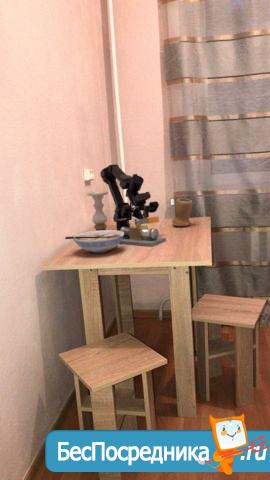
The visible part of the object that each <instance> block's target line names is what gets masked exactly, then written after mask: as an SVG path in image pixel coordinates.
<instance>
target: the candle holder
mask: <svg viewBox="0 0 270 480" xmlns="http://www.w3.org/2000/svg"><path fill="white" fill-rule="evenodd" d="M86 194H87V196H88V197H92V199H93V200H94V203H93V208H94V210H95V212H94V214H93V216H92V219H91V220H92V222H93V224H95V225H94V227H93V228H94V230H95V231H101V230H107V227H108V226H107V224H106V223H107V221H108V217H107V215H106V214H105V212H104V211H103V208H104V203H103V198H104V196H105V195H108V194H109V191H103V190H102V191H92V192H91V191H90V192H87V193H86Z"/></svg>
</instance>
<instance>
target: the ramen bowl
mask: <svg viewBox="0 0 270 480" xmlns="http://www.w3.org/2000/svg"><path fill="white" fill-rule="evenodd" d="M123 235H124V232H122V231H117V229H115V230H114V229H109V230H108V229H106V230H101V231H96V230H91V231H86V232H82V233H78V234H75V235H73V236H65V237H64V239H65V240H73V241H74V243H75V244H76V245H77V246H78V247H80V249H82V250H84V251H86V252H91V253H92V254H102V253H106V252H108V251H110V250H112V249H114V248H115V247H117V246H118V245H120V244H119V243H120V241H121V240H122V238H123Z"/></svg>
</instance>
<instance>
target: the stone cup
mask: <svg viewBox="0 0 270 480" xmlns="http://www.w3.org/2000/svg"><path fill="white" fill-rule="evenodd" d="M193 205H194V202H193V200H192V199H189V198H184V197H183V198H177V199H176V200H175V213H176V214H175V215H176V217H174V218H172V220H171V223H172V225H173V226H176V227H188V226H189V225H191V221H190V216H191V213H192V211H193Z"/></svg>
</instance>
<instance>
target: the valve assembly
mask: <svg viewBox="0 0 270 480" xmlns="http://www.w3.org/2000/svg"><path fill="white" fill-rule="evenodd" d="M120 231H122V232H124V235H123V238H122V240H121V241H120V243H119V244H118V245H129V246H138V247H139V246H141V247H156V246H157V245H160V244H162V243H164V242H166V241H167V238H166V237H159V236H160V232H159V229H158V228H155V227H154V228H151V229H150V228H149V226H148V225H143V224H141V225H133V226H130V228H127V227H121V228H120Z"/></svg>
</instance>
